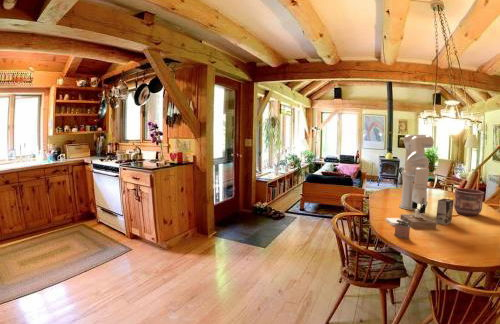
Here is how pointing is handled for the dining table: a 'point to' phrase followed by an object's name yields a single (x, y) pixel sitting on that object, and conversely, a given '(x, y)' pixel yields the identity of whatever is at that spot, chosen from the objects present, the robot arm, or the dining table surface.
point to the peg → (417, 214)
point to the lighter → (402, 229)
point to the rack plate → (418, 221)
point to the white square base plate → (392, 221)
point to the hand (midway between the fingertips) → (418, 210)
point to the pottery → (468, 201)
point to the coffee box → (444, 211)
